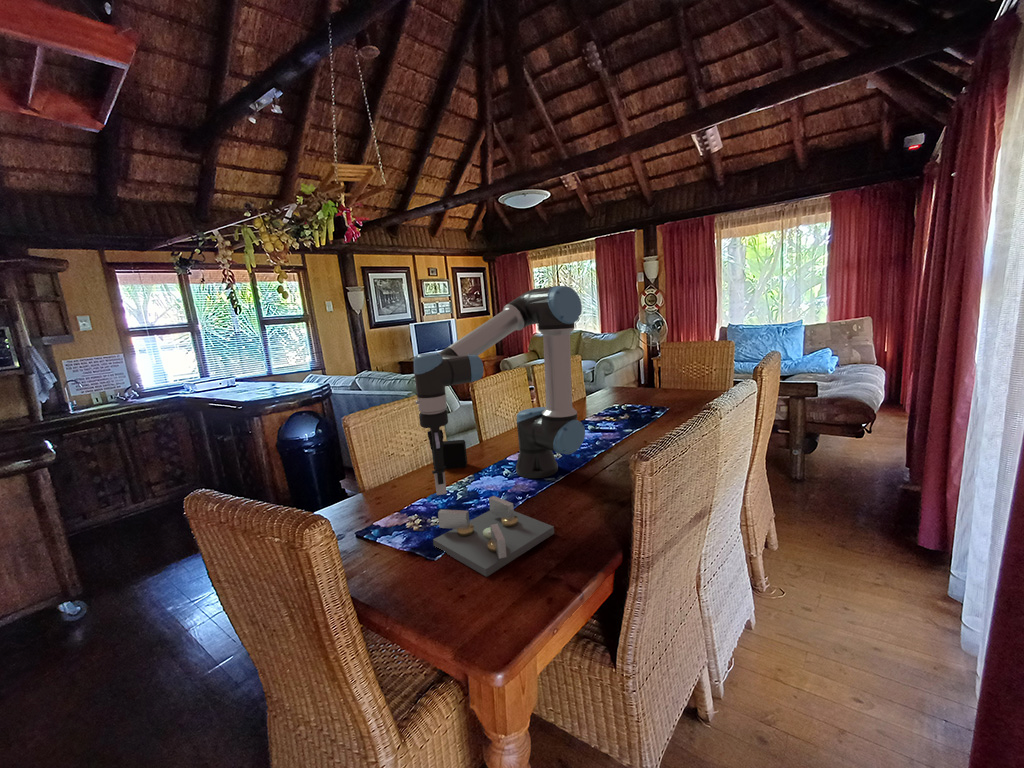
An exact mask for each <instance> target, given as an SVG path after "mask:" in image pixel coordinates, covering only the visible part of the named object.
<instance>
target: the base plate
mask: <svg viewBox="0 0 1024 768" xmlns="http://www.w3.org/2000/svg"><path fill="white" fill-rule="evenodd" d="M514 515H515V516H517V518H518V524H517V525H515V526H512V527H505V526H503V525H502V518H501V517H499V516H497V515H495V514H492V513H490V510H487V511H486V512H484V513H481V514H480V515H478V516H476V517H474V518H471V519H469V521H470V524H472V525H473V526H474V532H473V533H472V534H471V535H468V536H460V535H458V533H457V529H450V530H449V531H447V532H445V533H442V534H440V535H439V536H437V537H435V538H433V539H432V542H433V544H432V545H433V547H434V546H435V547H434V548H436V547H437V548H439V549H441V550H443V551H445V552H446V553H447V554H446V553H445V554H446V555H448V556H449V555H450V557H451V558H453V559H455V560H456V561H458V562H460V563H461V564H463V565H464V566H467V567H468V568H470V569H472V570H474V571H475V572H477V573H479V574H481V575H482V576H484V577H486V578H487V577H490V575H491V576H492V574H494V573H495V572H497V571H498V570H500V569H501V568H503V567H504V566H506V565H507V564H509V563H511V562H512V561H514V560H516V559H517V558H519V557H520V556H522V555H523V554H525V553H527V552H528V551H530V550H531V549H532V548H534V547H536V546H537V545H539V544H540V543H541V542H544V541H546V539H548V538H550V537H551V536H553V535H554V534H555V528H554V527H555V526H554V525H550V524H548V523H547V522H546V523H545V522H543V521H541V520H538V519H536V518H533V517H530V516H528V515H525V514H522V513H520V512H518V511H516V510H514ZM493 524H498V526H499V528H500V530H501V532H502V534H503V536H504V539H505V545H506V556H507V557H504V558H500V559H499V557H498V555H497V553H496V552H491V551H489V550H488V545H487V543H488V541H489V540H491V539H492V538H491V528H490V525H493ZM437 548H436V549H437ZM439 549H438V550H439ZM441 550H440V551H441Z"/></svg>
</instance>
